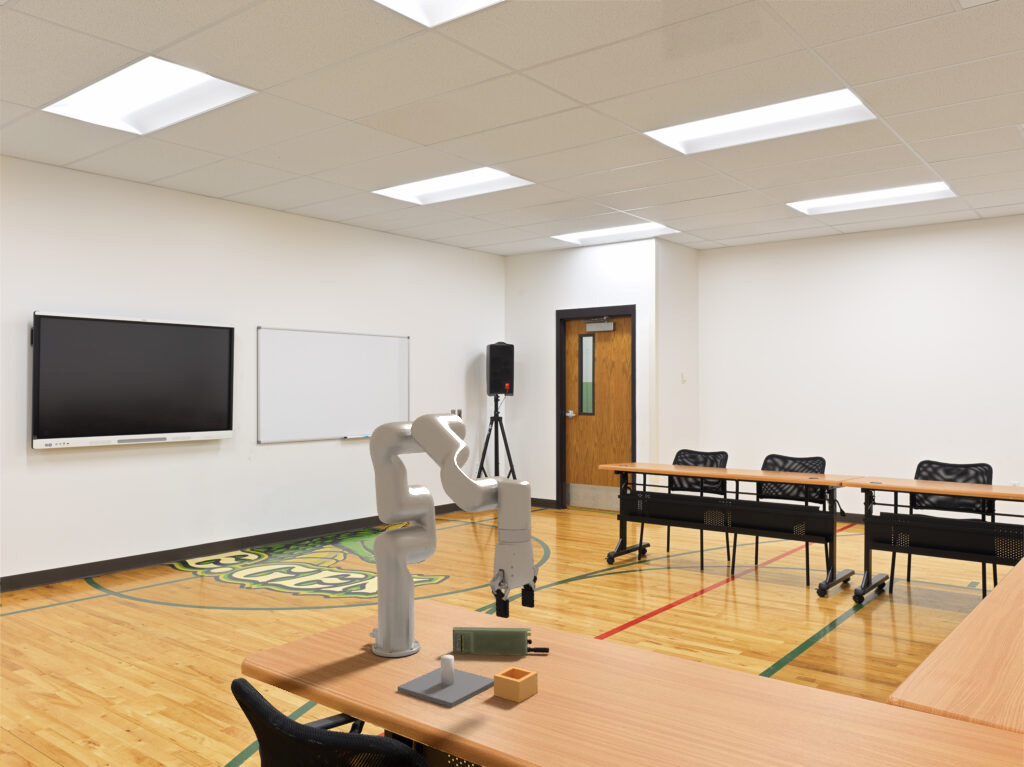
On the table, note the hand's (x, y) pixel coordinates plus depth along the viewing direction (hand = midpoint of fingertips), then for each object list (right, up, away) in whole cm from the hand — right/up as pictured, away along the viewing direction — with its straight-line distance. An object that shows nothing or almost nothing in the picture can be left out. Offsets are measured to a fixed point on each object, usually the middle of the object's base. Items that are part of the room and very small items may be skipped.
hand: (515, 611), depth 174 cm
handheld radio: (-4, -19, +27) cm, 33 cm away
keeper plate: (-16, -19, +4) cm, 25 cm away
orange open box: (0, -18, 0) cm, 18 cm away
